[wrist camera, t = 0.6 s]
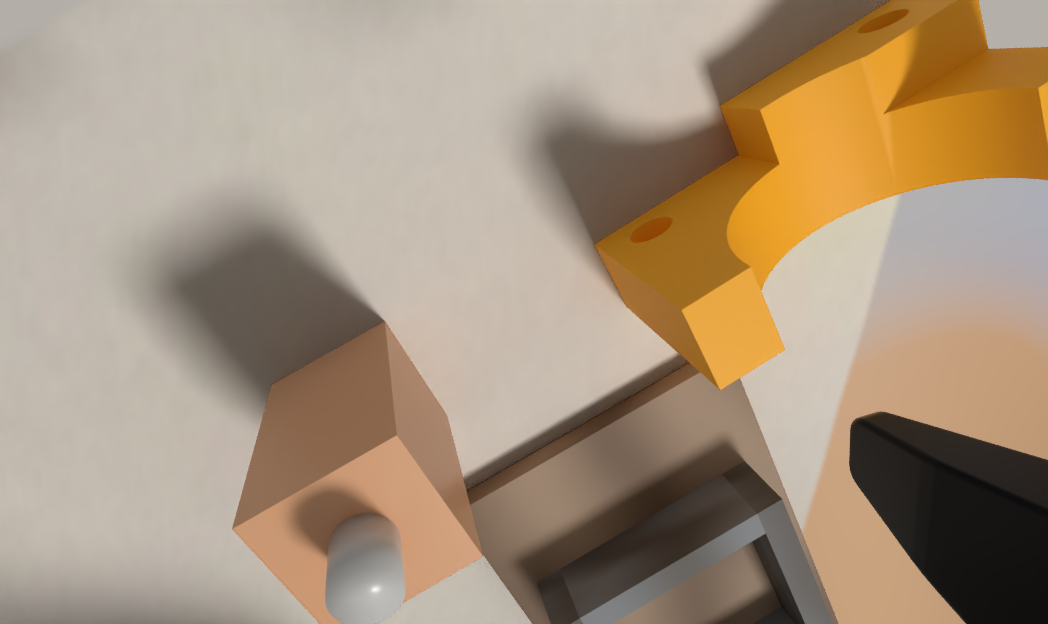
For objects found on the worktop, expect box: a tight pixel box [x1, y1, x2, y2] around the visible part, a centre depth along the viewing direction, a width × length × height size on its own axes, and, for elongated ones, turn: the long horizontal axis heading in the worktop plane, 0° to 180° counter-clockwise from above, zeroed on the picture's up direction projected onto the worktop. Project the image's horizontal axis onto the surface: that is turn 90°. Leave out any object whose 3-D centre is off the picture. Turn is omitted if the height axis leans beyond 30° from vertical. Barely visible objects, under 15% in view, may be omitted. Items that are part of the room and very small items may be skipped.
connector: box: [232, 321, 483, 624], centre depth 17 cm, size 4×4×9 cm
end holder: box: [467, 363, 838, 624], centre depth 26 cm, size 11×18×3 cm, turn 27°
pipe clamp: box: [594, 0, 1048, 390], centre depth 19 cm, size 12×4×6 cm, turn 119°
